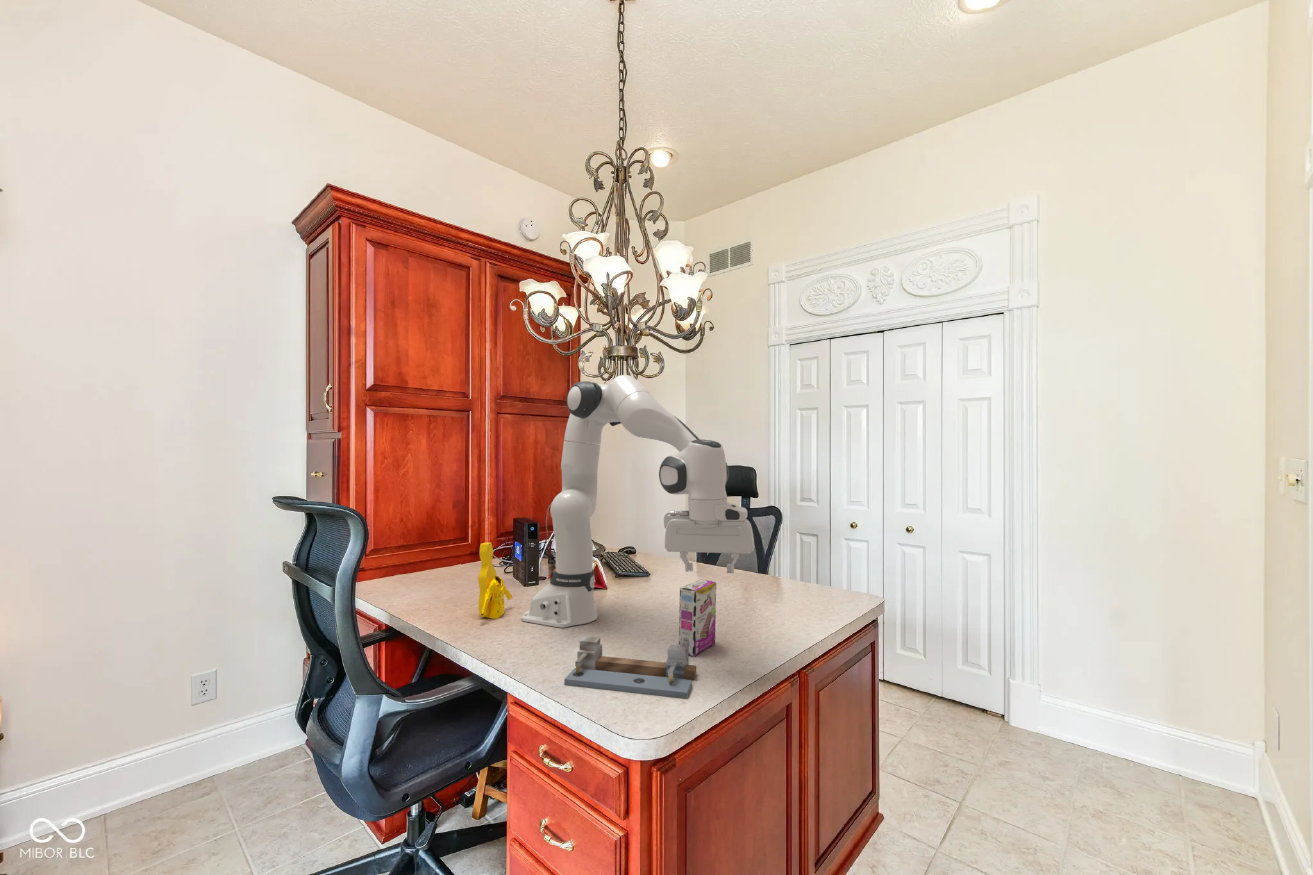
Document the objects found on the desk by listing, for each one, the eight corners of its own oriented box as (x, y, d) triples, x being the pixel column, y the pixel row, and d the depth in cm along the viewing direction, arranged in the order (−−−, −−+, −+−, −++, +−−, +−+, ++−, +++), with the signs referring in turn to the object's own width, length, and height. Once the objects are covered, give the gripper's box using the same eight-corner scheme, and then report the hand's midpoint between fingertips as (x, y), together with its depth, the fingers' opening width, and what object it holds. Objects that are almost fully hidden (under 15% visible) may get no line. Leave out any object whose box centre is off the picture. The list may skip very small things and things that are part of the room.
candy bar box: (695, 657, 131) (695, 590, 131) (678, 653, 134) (678, 587, 134) (716, 643, 140) (717, 581, 140) (700, 639, 143) (700, 578, 143)
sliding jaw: (661, 688, 114) (661, 660, 114) (671, 667, 124) (671, 641, 124) (679, 690, 113) (679, 662, 113) (688, 669, 123) (688, 643, 123)
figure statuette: (488, 626, 153) (488, 549, 153) (463, 624, 155) (464, 548, 155) (517, 607, 170) (518, 538, 171) (495, 606, 172) (495, 537, 172)
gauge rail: (568, 679, 118) (568, 651, 118) (586, 660, 129) (586, 634, 129) (689, 693, 112) (689, 662, 112) (697, 671, 123) (697, 644, 123)
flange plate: (564, 684, 116) (564, 678, 116) (574, 673, 122) (574, 667, 122) (686, 698, 110) (687, 692, 110) (691, 685, 116) (691, 679, 116)
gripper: (660, 512, 121) (661, 573, 121) (751, 512, 116) (753, 576, 116) (666, 509, 127) (668, 567, 127) (753, 509, 122) (755, 570, 122)
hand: (709, 571), depth 121 cm, fingers open, 8 cm apart
